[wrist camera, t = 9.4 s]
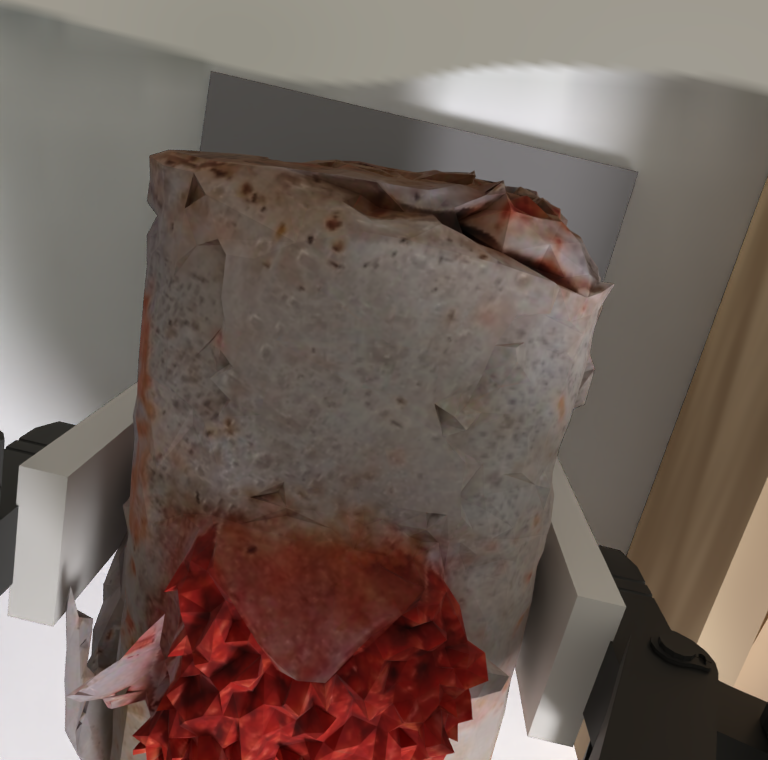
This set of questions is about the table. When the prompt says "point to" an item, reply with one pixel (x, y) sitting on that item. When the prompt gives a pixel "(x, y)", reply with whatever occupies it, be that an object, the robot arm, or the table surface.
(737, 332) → the tray
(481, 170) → the mat
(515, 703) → the table surface
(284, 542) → the food item
